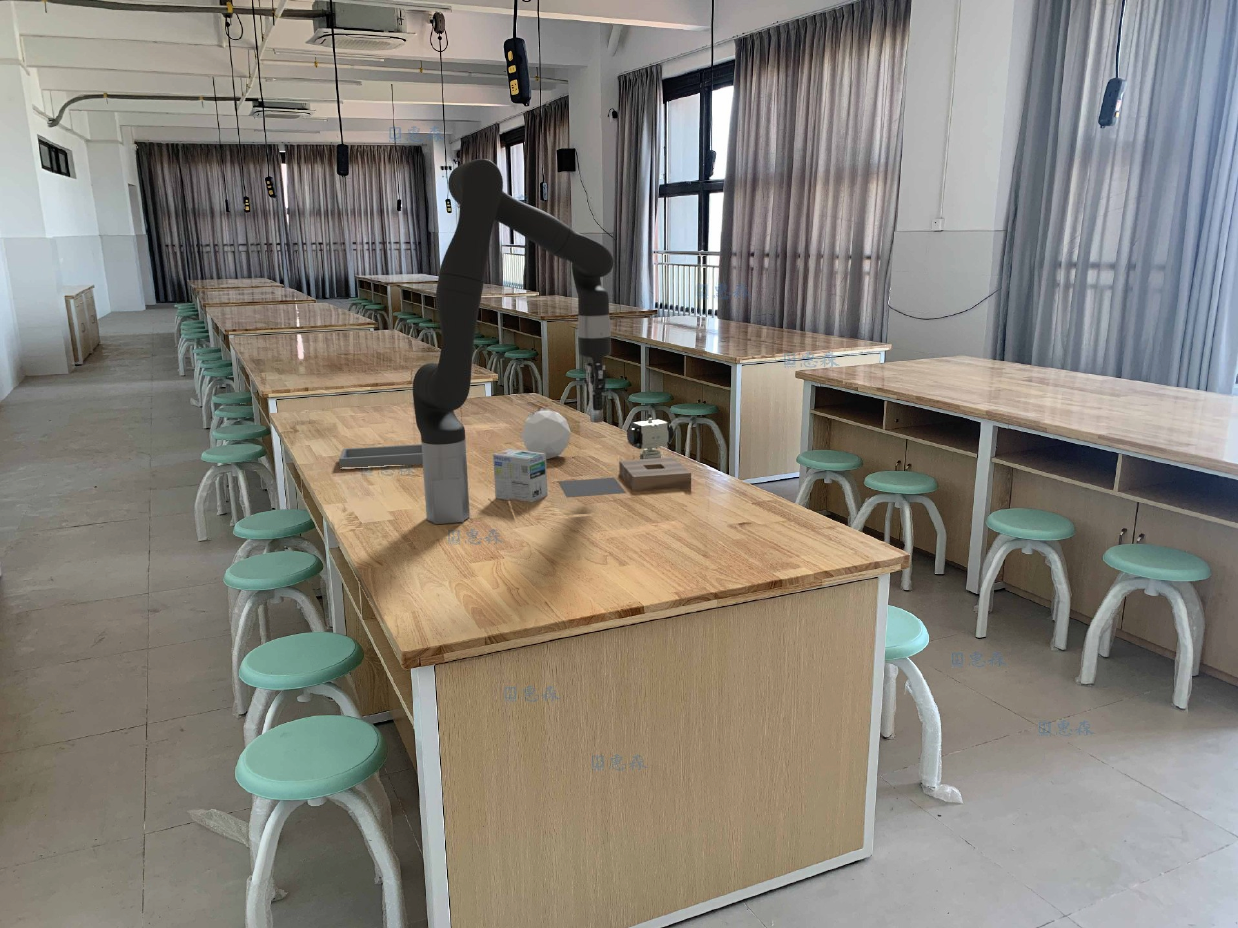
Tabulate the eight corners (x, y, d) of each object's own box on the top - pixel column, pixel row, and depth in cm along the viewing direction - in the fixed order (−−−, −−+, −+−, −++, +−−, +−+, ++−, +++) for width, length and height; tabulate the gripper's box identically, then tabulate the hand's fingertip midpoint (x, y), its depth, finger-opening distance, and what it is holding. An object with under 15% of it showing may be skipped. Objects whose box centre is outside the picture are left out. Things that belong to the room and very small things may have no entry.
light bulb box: (548, 497, 209) (547, 452, 206) (531, 505, 203) (529, 458, 201) (511, 491, 214) (509, 447, 212) (494, 498, 209) (491, 453, 206)
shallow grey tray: (429, 464, 241) (428, 453, 240) (340, 470, 236) (339, 459, 235) (429, 454, 252) (428, 443, 251) (343, 459, 247) (342, 448, 247)
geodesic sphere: (528, 446, 234) (553, 401, 236) (500, 438, 244) (524, 395, 247) (564, 471, 243) (588, 427, 246) (536, 462, 254) (558, 420, 256)
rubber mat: (626, 495, 210) (626, 492, 210) (566, 499, 207) (566, 497, 207) (614, 479, 223) (614, 477, 223) (558, 483, 220) (557, 481, 220)
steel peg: (604, 422, 211) (603, 379, 208) (591, 422, 210) (590, 380, 207) (601, 419, 213) (600, 377, 211) (589, 420, 213) (588, 378, 210)
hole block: (691, 489, 214) (691, 472, 213) (633, 493, 211) (633, 476, 210) (673, 472, 229) (673, 457, 228) (619, 476, 226) (619, 460, 225)
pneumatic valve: (626, 463, 239) (626, 419, 236) (665, 458, 244) (665, 414, 241) (636, 468, 234) (635, 422, 231) (675, 462, 239) (675, 418, 236)
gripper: (616, 337, 201) (618, 413, 205) (604, 330, 214) (606, 402, 218) (583, 338, 199) (585, 415, 204) (573, 332, 212) (575, 404, 217)
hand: (596, 408), depth 211 cm, fingers closed on steel peg, 3 cm apart
